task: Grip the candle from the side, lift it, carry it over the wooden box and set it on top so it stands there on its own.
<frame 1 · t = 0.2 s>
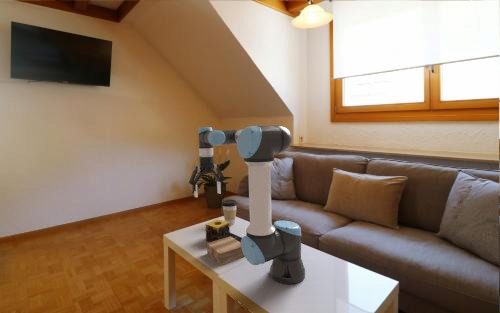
hand: (207, 195, 146), 27 cm above the table, tool pointing down, fingers open, 13 cm apart
wooden box: (226, 255, 136), on the table
coffee cup: (230, 223, 177), on the table
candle: (218, 240, 153), on the table
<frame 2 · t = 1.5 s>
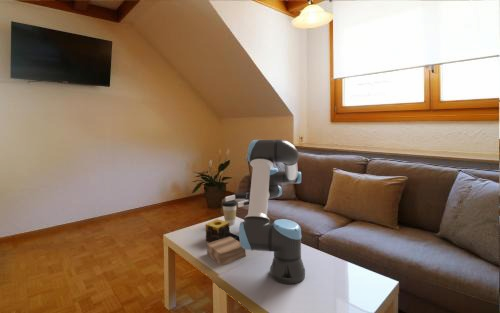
hand: (231, 202, 156), 20 cm above the table, tool horizontal, fingers open, 13 cm apart
nothing on the table moved.
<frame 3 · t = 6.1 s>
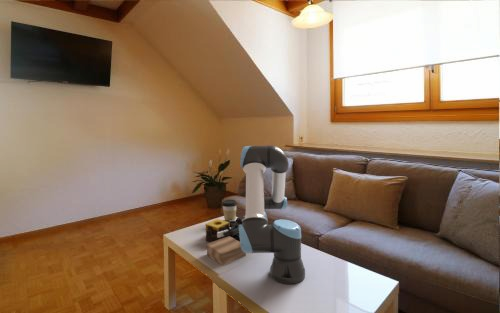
hand: (212, 231, 150), 6 cm above the table, tool horizontal, fingers closed on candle, 12 cm apart
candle: (218, 240, 153), on the table, touching gripper
everything else where it was.
when the fingers open (13 cm above the table, at t = 11.4 s): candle drops 2 cm, resting on wooden box.
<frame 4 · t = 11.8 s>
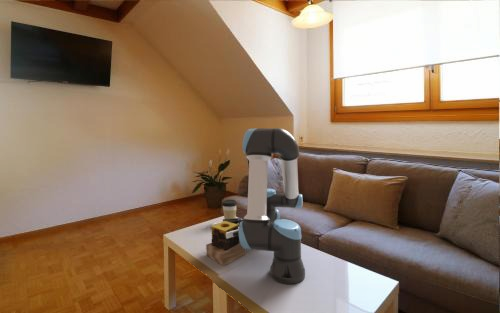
hand: (219, 231, 132), 13 cm above the table, tool horizontal, fingers open, 13 cm apart
wooden box: (226, 256, 136), on the table, touching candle
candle: (225, 245, 135), point 5 cm above the table, touching wooden box
everything else where it was.
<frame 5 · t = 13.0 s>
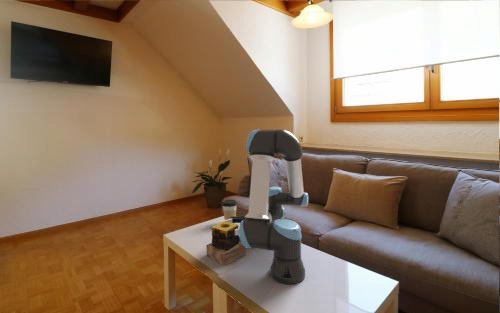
hand: (227, 228, 135), 14 cm above the table, tool horizontal, fingers open, 13 cm apart
nothing on the table moved.
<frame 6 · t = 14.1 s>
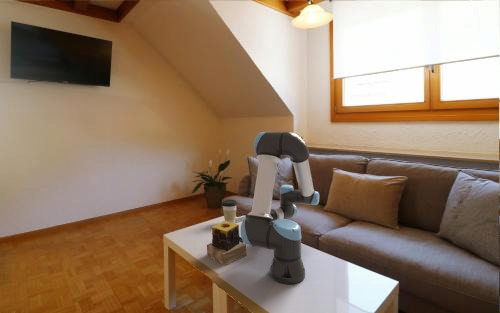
hand: (242, 224, 139), 14 cm above the table, tool horizontal, fingers open, 13 cm apart
nothing on the table moved.
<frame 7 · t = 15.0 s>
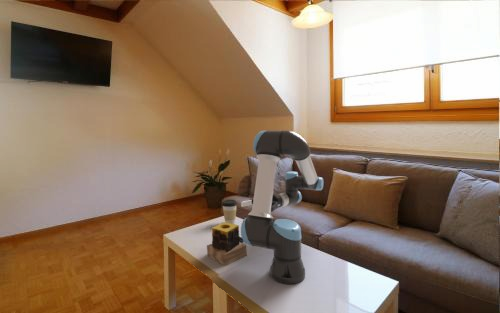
hand: (248, 207, 143), 21 cm above the table, tool horizontal, fingers open, 13 cm apart
nothing on the table moved.
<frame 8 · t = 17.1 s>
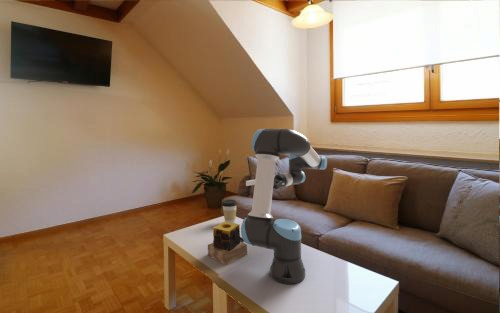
hand: (253, 185, 145), 32 cm above the table, tool horizontal, fingers open, 13 cm apart
at the end: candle inside the target area on the wooden box (0.7 cm from its centre), point 5.8 cm above the wooden box's base; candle tilted 0°; the gripper is holding nothing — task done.
